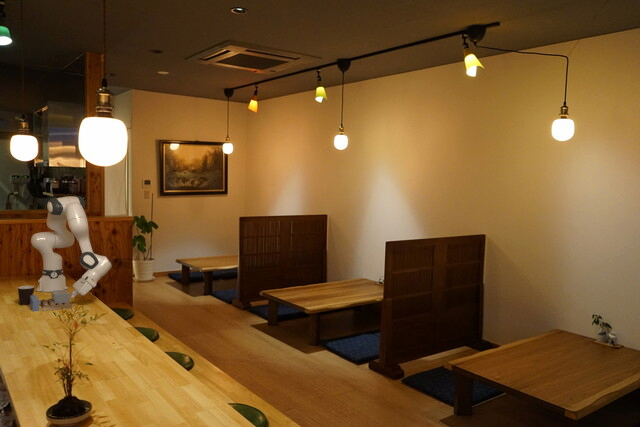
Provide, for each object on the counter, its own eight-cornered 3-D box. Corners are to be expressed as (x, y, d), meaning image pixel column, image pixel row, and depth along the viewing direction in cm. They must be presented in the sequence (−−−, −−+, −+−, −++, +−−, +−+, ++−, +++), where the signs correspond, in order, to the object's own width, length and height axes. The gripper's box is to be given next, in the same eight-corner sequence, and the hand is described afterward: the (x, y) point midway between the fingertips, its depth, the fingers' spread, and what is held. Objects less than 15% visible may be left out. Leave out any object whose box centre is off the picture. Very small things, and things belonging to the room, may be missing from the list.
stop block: (29, 305, 292) (30, 295, 292) (35, 305, 294) (35, 295, 294) (32, 311, 281) (32, 300, 281) (38, 310, 283) (39, 300, 282)
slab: (51, 299, 298) (51, 290, 297) (66, 297, 302) (66, 289, 302) (54, 303, 288) (54, 295, 288) (69, 302, 293) (70, 293, 292)
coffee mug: (28, 306, 292) (28, 289, 291) (14, 305, 292) (14, 288, 291) (40, 301, 303) (40, 285, 303) (26, 300, 303) (26, 284, 303)
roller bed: (38, 304, 297) (38, 299, 296) (66, 301, 305) (66, 296, 305) (42, 311, 282) (42, 305, 282) (72, 308, 291) (72, 303, 291)
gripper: (81, 273, 311) (64, 289, 306) (88, 279, 294) (70, 297, 289) (89, 279, 314) (72, 296, 308) (96, 286, 297) (78, 303, 292)
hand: (71, 296), depth 299 cm, fingers closed
